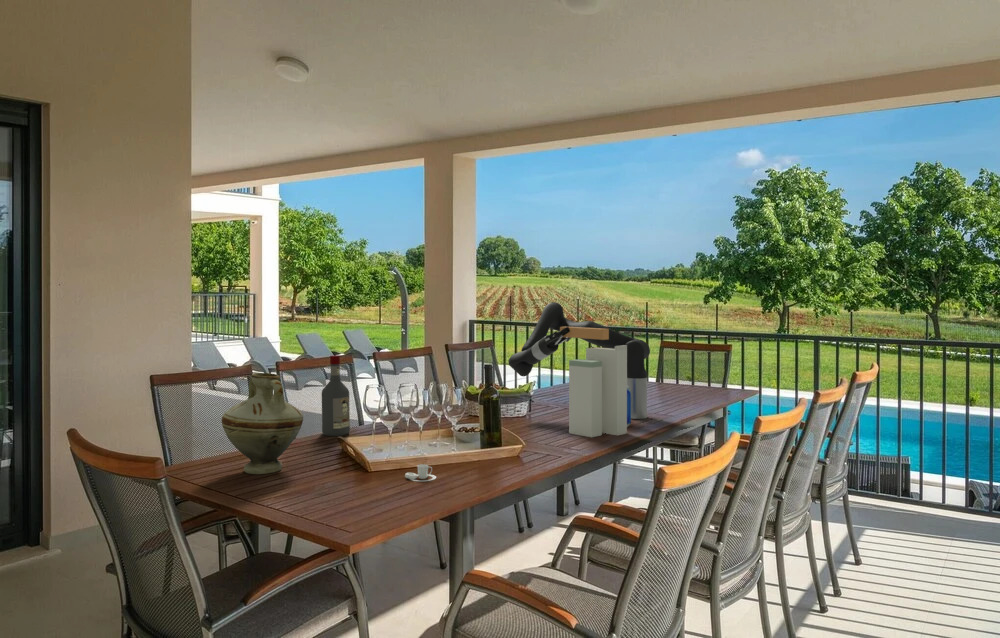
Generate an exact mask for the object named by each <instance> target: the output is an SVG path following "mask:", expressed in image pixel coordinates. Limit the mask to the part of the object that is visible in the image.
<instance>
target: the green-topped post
mask: <svg viewBox="0 0 1000 638" xmlns="http://www.w3.org/2000/svg"><path fill="white" fill-rule="evenodd" d="M568 407H569V408H568V414H569V415H568V420H569V421H568V425H569V426H568V427H569V428H568V429H569V430H568V433H569V434H571V435H575V436H576V435H577V436H580V437H581V436H583V437H587V438H595V437H596V438H597V437H600V436H602V435H603V433H602V361H594V360H586V359H583V358H582V359H580V358H579V359H577V358H576V359H570V360H568Z"/></svg>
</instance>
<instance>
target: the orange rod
mask: <svg viewBox="0 0 1000 638" xmlns="http://www.w3.org/2000/svg"><path fill="white" fill-rule="evenodd" d="M564 328H566V327H560V331H561V330H563V329H564ZM569 329H570V332H568V333H567V334H566V335H564V336H563V337H570V338H571V339H572V338H573V339H580V338H585V339H600V340H606V339H609V329H610V328H609V329H601V328H582V327H569Z"/></svg>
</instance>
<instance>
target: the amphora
mask: <svg viewBox="0 0 1000 638" xmlns="http://www.w3.org/2000/svg"><path fill="white" fill-rule="evenodd" d="M280 378H281V376H280V375H279V374H276V373H270V372H268V373H267V372H255V373H252V374H250V380H249V382H248V397H247V399H246V400H243V401H241V402H239V403H237V404H235V405H233V406H232V407H230V408H229V409H228V410H226V411H225V412H224V413H223V414H222V417H221V424H222V425H221V426H222V429H223V431H224V433H225V435H226V437H227V439H228V440H229V442H230V443H231V444H232V445H233V446H234V447H235V449H237V451H239V452H240V453H241V454H242V455H243V456H244V457H246V458H248V460H250V462H247V463H246V464H245V465H244V466H243V471H244V472H245V473H246V474H249V475H250V474H251V475H266V474H273V473H277V472H279V471H281V470H282V469H283V463H282V462H281V461H280V460H278V459H279V457H281V456H282V455H283V454H284V453H285V451H286V450H287V449H288V448H289V447H290V445H291V444H292V443H293V442H294V441H295V439H296V438H297V436H298V434H299V432H300V430H301V429H302V425H303V421H304V414H303V412H302V411H301V410H300V409H299V408H297V407H296V406H294V405H292V404H291V403H289V402H287V401H285V399H284V387H283V384H282V382H281V381H280Z"/></svg>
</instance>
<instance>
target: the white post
mask: <svg viewBox="0 0 1000 638" xmlns="http://www.w3.org/2000/svg"><path fill="white" fill-rule="evenodd" d="M585 360H594V361H602V434H605V433H606V435H611V436H620V435H626V434H628V431H627V430H628V427H627V345H622V346H615V349H611V348H605V347H587V348H585Z"/></svg>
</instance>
